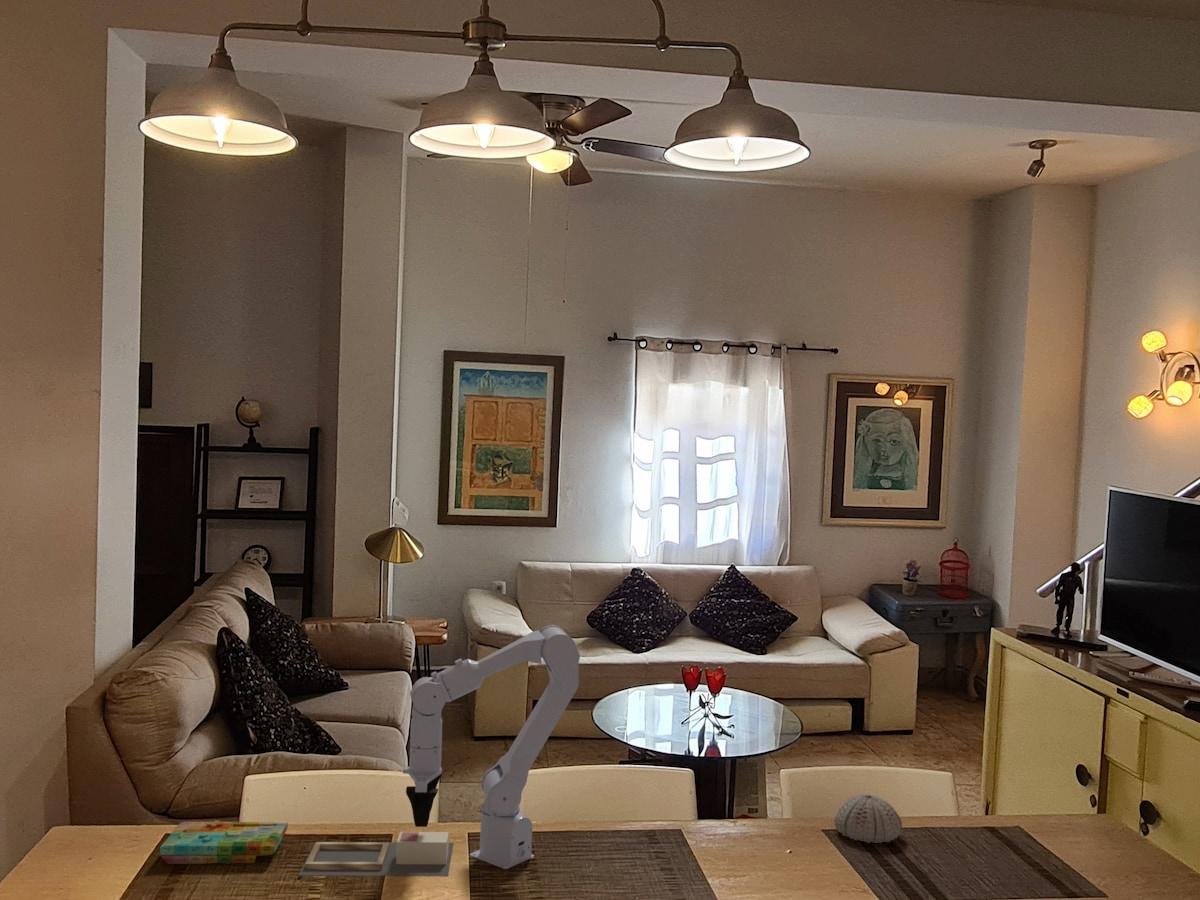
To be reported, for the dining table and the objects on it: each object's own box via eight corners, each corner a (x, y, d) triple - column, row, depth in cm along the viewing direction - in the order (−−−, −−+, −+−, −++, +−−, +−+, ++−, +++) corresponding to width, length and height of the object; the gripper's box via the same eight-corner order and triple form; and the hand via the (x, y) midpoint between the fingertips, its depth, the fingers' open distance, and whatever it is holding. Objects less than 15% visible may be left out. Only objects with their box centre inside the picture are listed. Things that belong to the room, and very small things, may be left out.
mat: (453, 845, 202) (453, 842, 202) (447, 878, 187) (447, 875, 187) (315, 844, 200) (315, 842, 200) (298, 878, 185) (298, 875, 185)
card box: (448, 853, 197) (448, 831, 197) (446, 864, 192) (446, 842, 192) (399, 853, 196) (400, 831, 196) (396, 864, 191) (396, 841, 191)
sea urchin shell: (875, 854, 205) (877, 813, 205) (819, 832, 215) (820, 793, 215) (914, 838, 213) (916, 799, 213) (859, 818, 224) (860, 781, 223)
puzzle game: (179, 818, 199) (288, 818, 201) (179, 842, 200) (287, 842, 201) (159, 842, 188) (274, 842, 190) (158, 868, 188) (273, 868, 190)
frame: (389, 847, 198) (389, 842, 198) (381, 869, 188) (381, 864, 188) (316, 847, 197) (316, 841, 197) (304, 869, 187) (305, 863, 187)
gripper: (408, 732, 200) (405, 803, 201) (399, 756, 186) (396, 833, 186) (445, 733, 201) (443, 804, 201) (439, 757, 186) (436, 833, 187)
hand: (423, 818), depth 194 cm, fingers open, 7 cm apart
